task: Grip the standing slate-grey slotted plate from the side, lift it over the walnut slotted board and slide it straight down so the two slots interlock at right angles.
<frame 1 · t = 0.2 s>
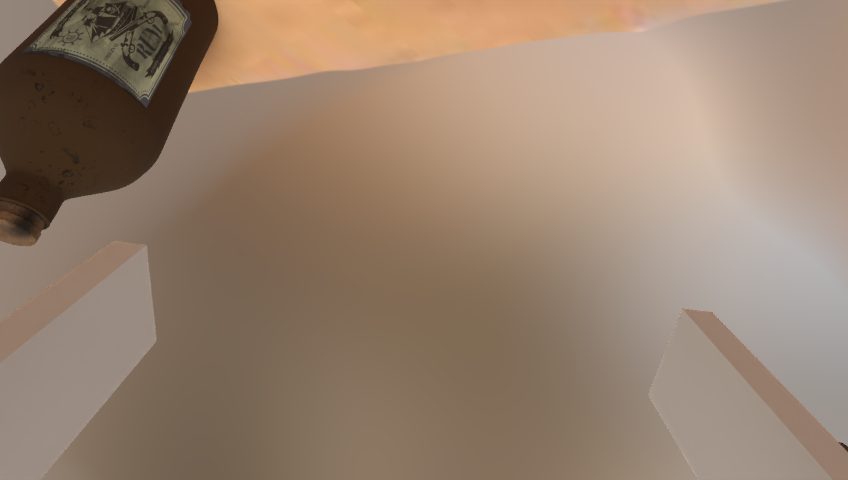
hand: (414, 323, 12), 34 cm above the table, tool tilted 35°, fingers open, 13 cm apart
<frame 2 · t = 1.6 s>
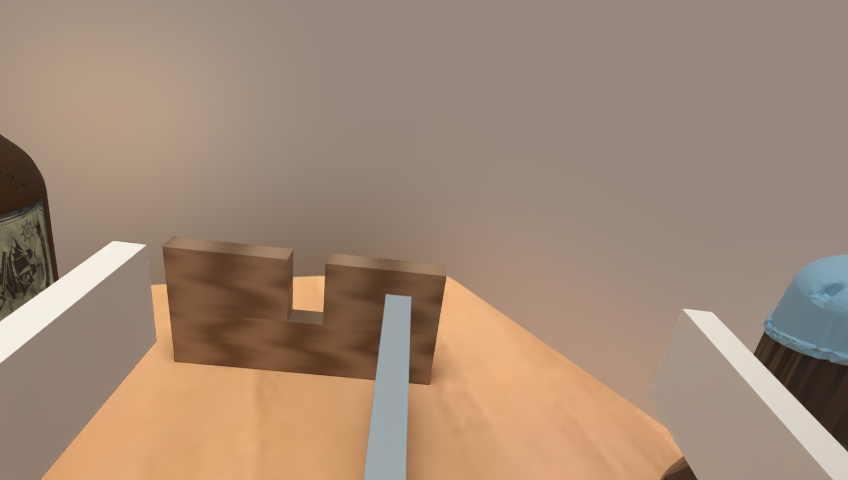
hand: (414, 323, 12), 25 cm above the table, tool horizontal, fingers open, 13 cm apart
walnut slotted board: (305, 366, 48), on the table
dark brown bottle: (5, 351, 45), on the table
slate slotted plate: (380, 457, 39), on the table
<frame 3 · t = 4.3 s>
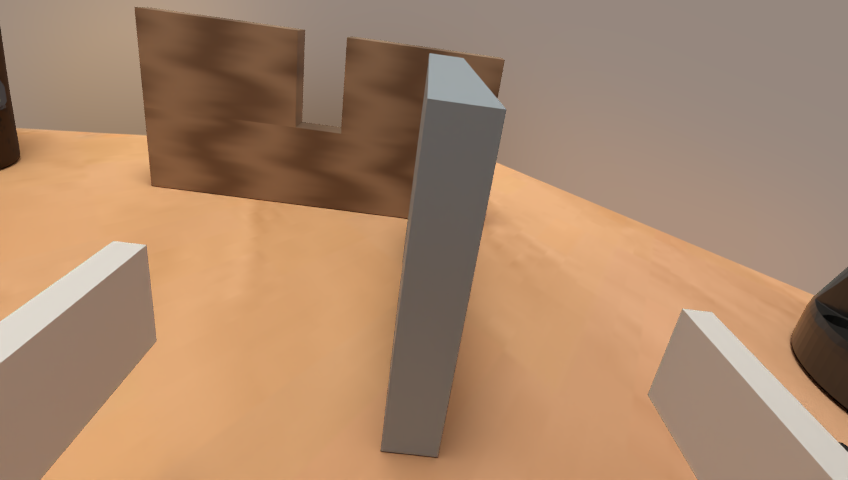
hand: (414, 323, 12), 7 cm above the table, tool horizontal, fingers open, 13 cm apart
walnut slotted board: (317, 201, 38), on the table
slate slotted plate: (418, 276, 29), on the table
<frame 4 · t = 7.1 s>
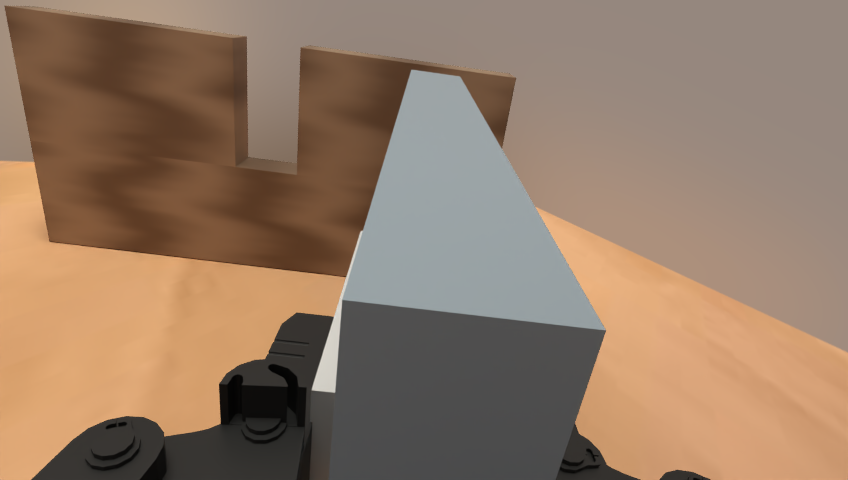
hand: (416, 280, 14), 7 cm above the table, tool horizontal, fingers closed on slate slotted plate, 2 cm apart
walnut slotted board: (270, 259, 29), on the table
slate slotted plate: (396, 388, 20), on the table, touching gripper
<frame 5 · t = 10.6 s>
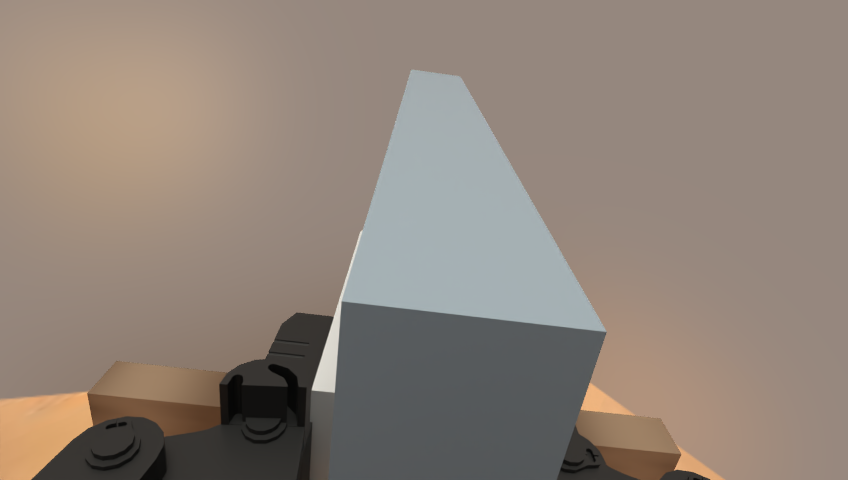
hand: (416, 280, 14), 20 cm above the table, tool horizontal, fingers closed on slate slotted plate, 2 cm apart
slate slotted plate: (396, 388, 20), point 13 cm above the table, touching gripper
when the fingers open (8 cm above the table, at t = 14.5 s): slate slotted plate stays where it is, on the table.
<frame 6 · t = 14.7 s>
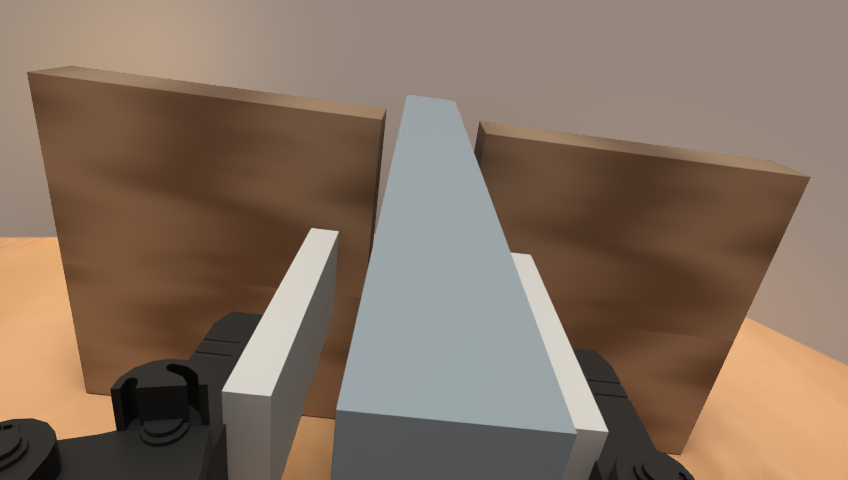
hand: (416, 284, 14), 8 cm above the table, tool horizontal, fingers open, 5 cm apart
walnut slotted board: (394, 406, 21), on the table
slate slotted plate: (393, 407, 21), on the table
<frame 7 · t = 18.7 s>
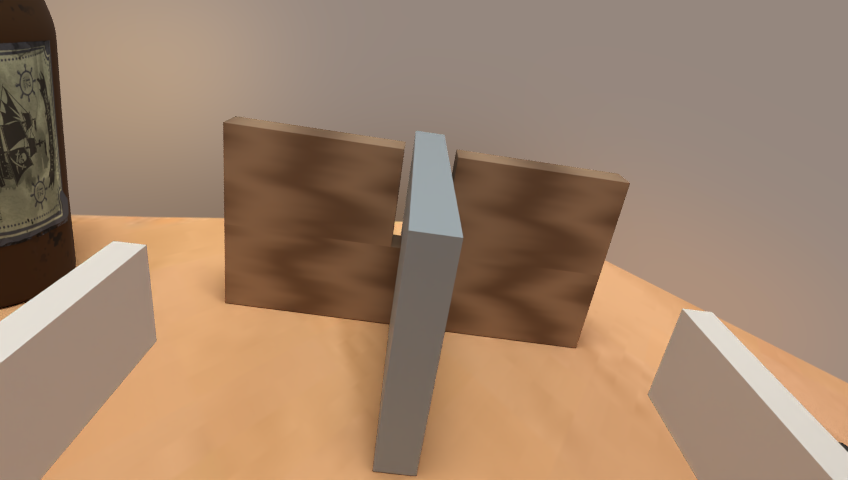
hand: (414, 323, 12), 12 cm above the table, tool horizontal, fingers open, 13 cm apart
walnut slotted board: (404, 317, 35), on the table
slate slotted plate: (404, 318, 35), on the table
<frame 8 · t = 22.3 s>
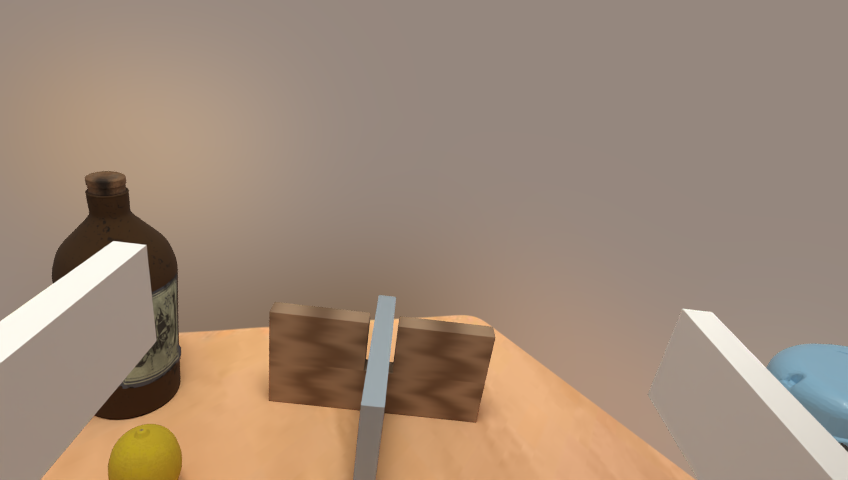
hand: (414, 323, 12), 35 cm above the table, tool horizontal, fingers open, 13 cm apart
walnut slotted board: (374, 405, 58), on the table
dark brown bottle: (134, 391, 56), on the table
slate slotted plate: (374, 405, 58), on the table
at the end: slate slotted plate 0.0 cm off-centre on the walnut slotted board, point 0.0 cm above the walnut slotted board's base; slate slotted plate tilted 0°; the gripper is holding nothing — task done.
